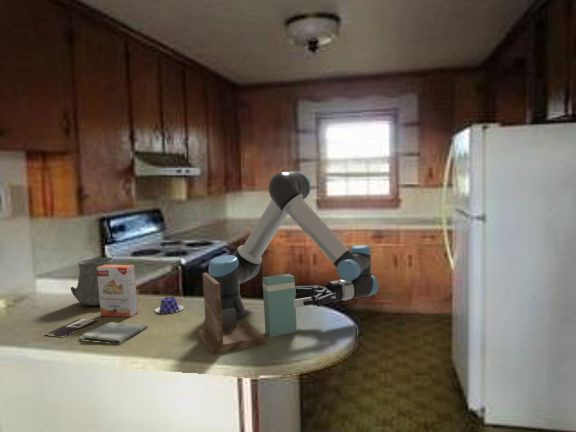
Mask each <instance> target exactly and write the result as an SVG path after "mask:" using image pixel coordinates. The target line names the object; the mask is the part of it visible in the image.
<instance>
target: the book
mask: <svg viewBox="0 0 576 432" xmlns="http://www.w3.org/2000/svg"><path fill="white" fill-rule="evenodd" d="M295 286H296V282H295V276H294V275H292V274H291V273H285V274H278V275H270V276H263V277H262V291H263V294H262V295H263V309H264V310H263V314H264V315H263V316H264V331H265V334H266V335H267V336H269V337H270V338H271V337H277V336H282V335H287V334H293V333H297V332H298V331H297V330H298V329H297V312H296V311H297V308H294V302H293V300H294V299H296V297H295Z"/></svg>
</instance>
